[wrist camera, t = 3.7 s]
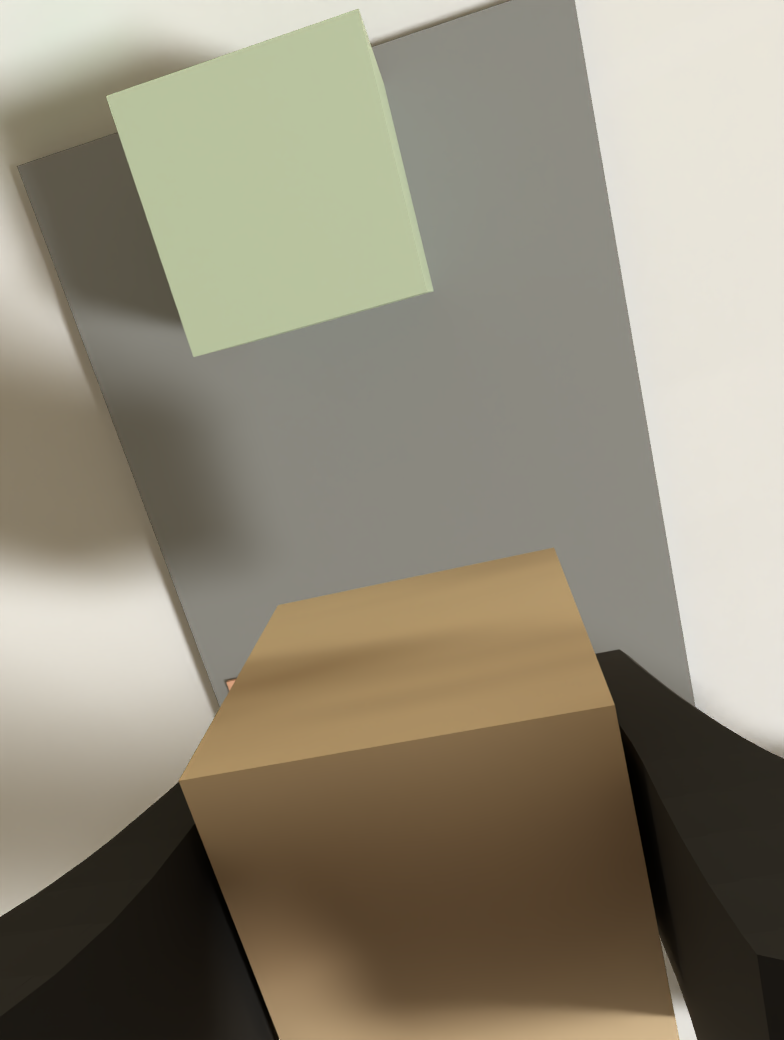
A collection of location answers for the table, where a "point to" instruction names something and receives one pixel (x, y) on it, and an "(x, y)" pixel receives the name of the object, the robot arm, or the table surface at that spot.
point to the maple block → (433, 817)
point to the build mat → (399, 368)
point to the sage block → (274, 186)
